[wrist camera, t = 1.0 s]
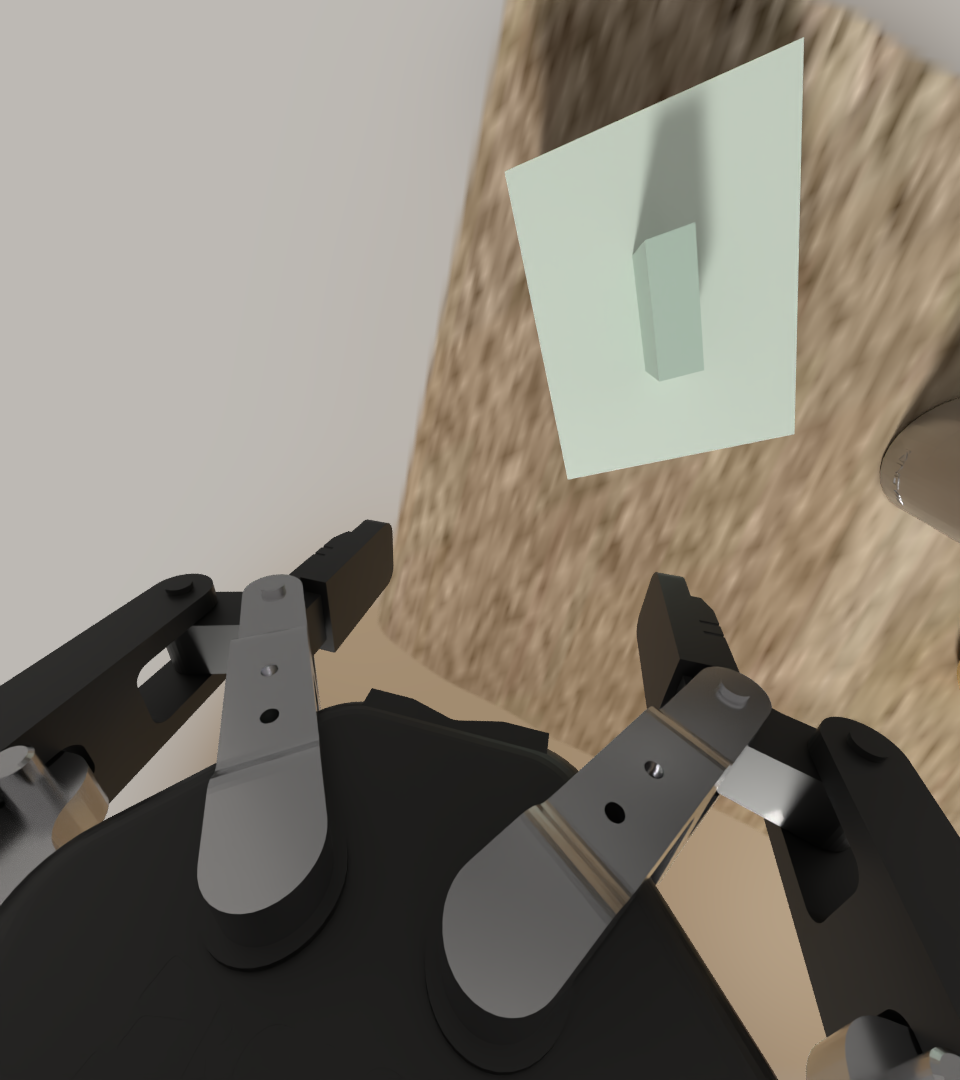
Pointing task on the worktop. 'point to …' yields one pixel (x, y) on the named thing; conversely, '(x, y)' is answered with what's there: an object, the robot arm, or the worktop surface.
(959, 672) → the sculpture
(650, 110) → the lid
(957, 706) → the worktop surface
